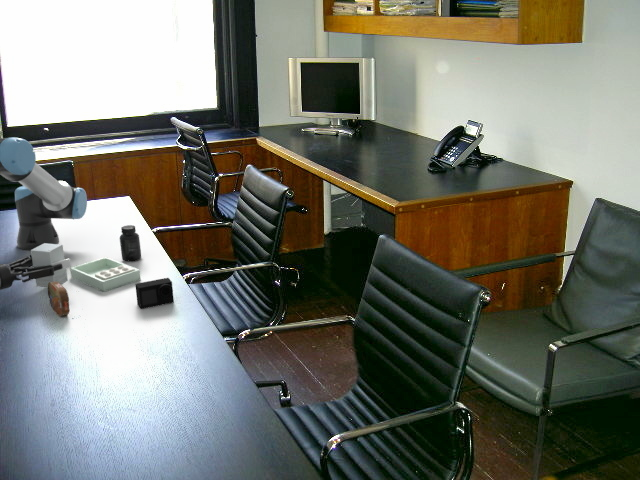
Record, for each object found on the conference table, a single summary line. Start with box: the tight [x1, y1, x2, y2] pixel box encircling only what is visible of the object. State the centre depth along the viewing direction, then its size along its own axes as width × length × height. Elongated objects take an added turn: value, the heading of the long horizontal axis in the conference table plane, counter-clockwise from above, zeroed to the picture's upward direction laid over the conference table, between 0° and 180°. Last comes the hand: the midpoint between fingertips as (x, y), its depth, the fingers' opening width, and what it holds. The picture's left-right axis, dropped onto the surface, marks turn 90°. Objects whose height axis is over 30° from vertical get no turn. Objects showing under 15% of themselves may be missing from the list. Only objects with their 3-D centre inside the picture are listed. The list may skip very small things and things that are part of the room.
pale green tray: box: [69, 256, 142, 293], centre depth 263 cm, size 20×14×4 cm
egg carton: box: [95, 265, 134, 281], centre depth 259 cm, size 6×11×4 cm, turn 137°
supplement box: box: [29, 243, 69, 289], centre depth 254 cm, size 7×7×13 cm
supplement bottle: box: [119, 224, 142, 263], centre depth 280 cm, size 7×7×12 cm
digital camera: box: [134, 277, 175, 310], centre depth 241 cm, size 10×5×7 cm, turn 117°
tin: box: [47, 282, 70, 317], centre depth 237 cm, size 15×3×8 cm, turn 33°
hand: (61, 259), depth 257 cm, fingers closed on supplement box, 9 cm apart
